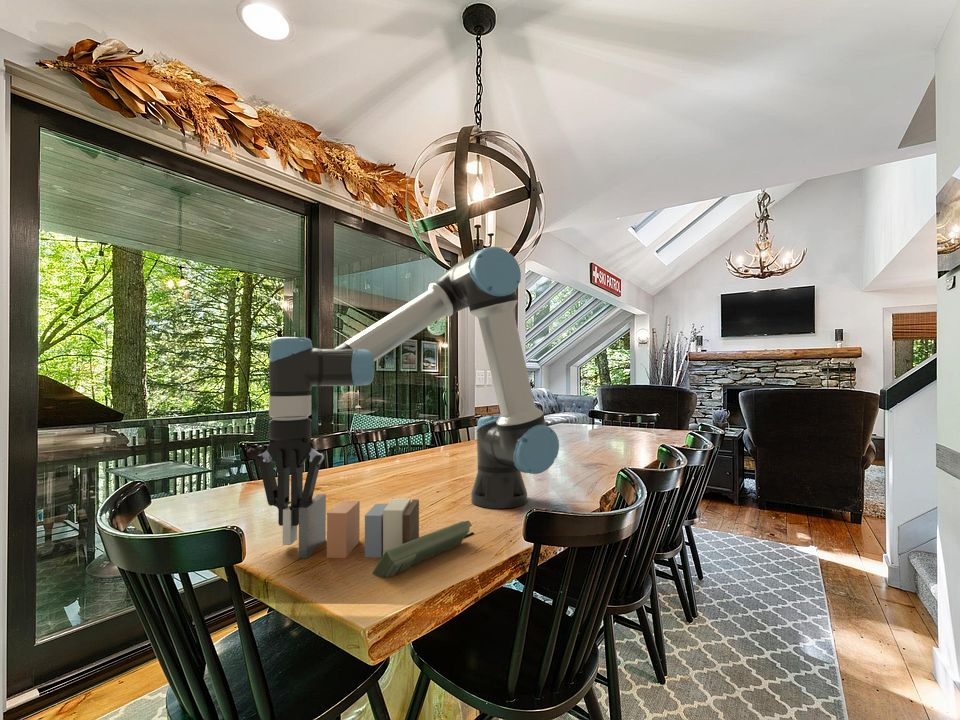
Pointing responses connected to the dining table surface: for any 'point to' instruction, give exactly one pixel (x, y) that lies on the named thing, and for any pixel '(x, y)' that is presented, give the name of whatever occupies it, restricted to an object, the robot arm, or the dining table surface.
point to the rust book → (343, 529)
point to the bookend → (312, 525)
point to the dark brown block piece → (411, 522)
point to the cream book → (394, 522)
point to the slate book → (374, 531)
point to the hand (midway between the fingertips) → (289, 542)
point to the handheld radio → (421, 549)
